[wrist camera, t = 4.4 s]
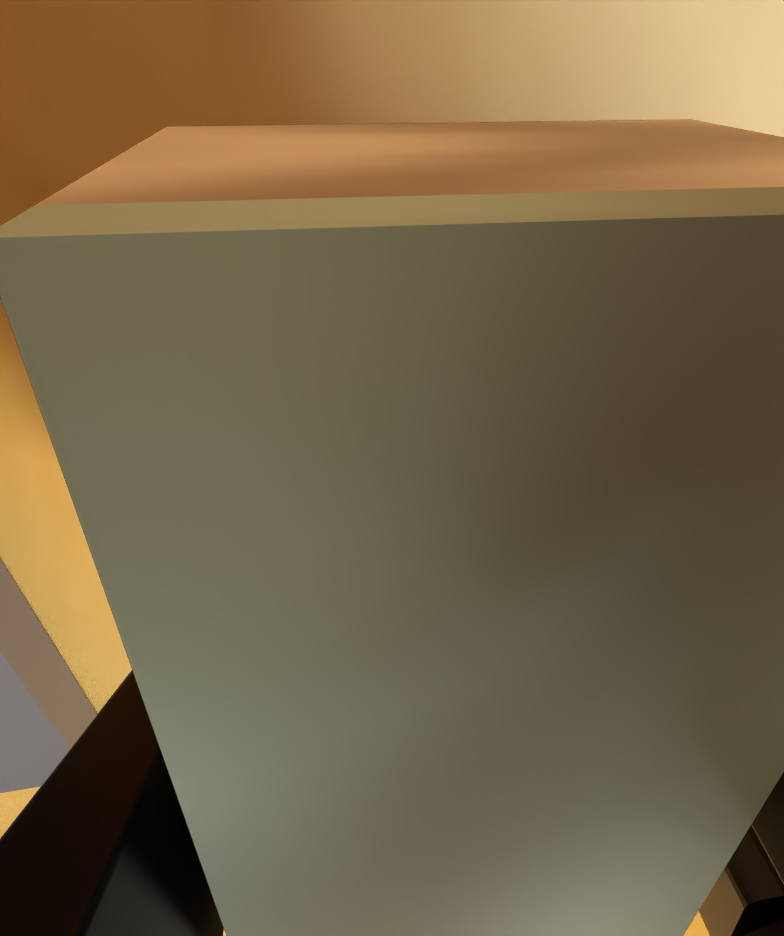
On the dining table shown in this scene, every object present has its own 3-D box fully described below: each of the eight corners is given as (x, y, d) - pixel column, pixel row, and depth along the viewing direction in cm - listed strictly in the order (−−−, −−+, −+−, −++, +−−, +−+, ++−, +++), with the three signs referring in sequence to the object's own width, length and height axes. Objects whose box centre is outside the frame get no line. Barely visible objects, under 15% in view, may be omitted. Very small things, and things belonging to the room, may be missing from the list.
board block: (689, 119, 6) (1129, 204, 3) (549, 730, 12) (645, 997, 8) (166, 126, 6) (-22, 237, 2) (278, 759, 11) (268, 1054, 8)
